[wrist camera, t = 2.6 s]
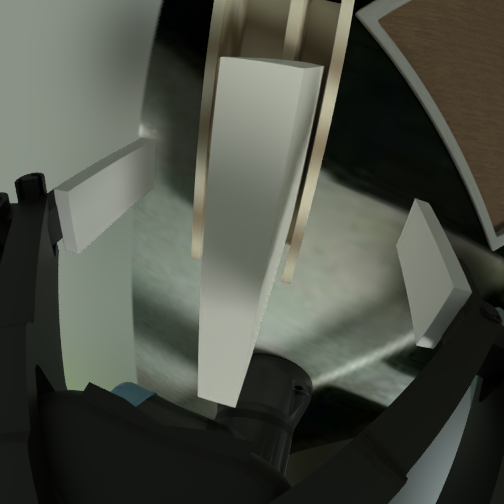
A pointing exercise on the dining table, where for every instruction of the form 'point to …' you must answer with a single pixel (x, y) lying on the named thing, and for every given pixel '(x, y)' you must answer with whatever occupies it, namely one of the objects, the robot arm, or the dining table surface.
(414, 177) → the dining table surface
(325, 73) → the rack
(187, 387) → the dining table surface
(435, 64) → the picture frame
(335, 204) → the dining table surface
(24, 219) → the robot arm
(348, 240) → the dining table surface
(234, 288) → the tall sheet
